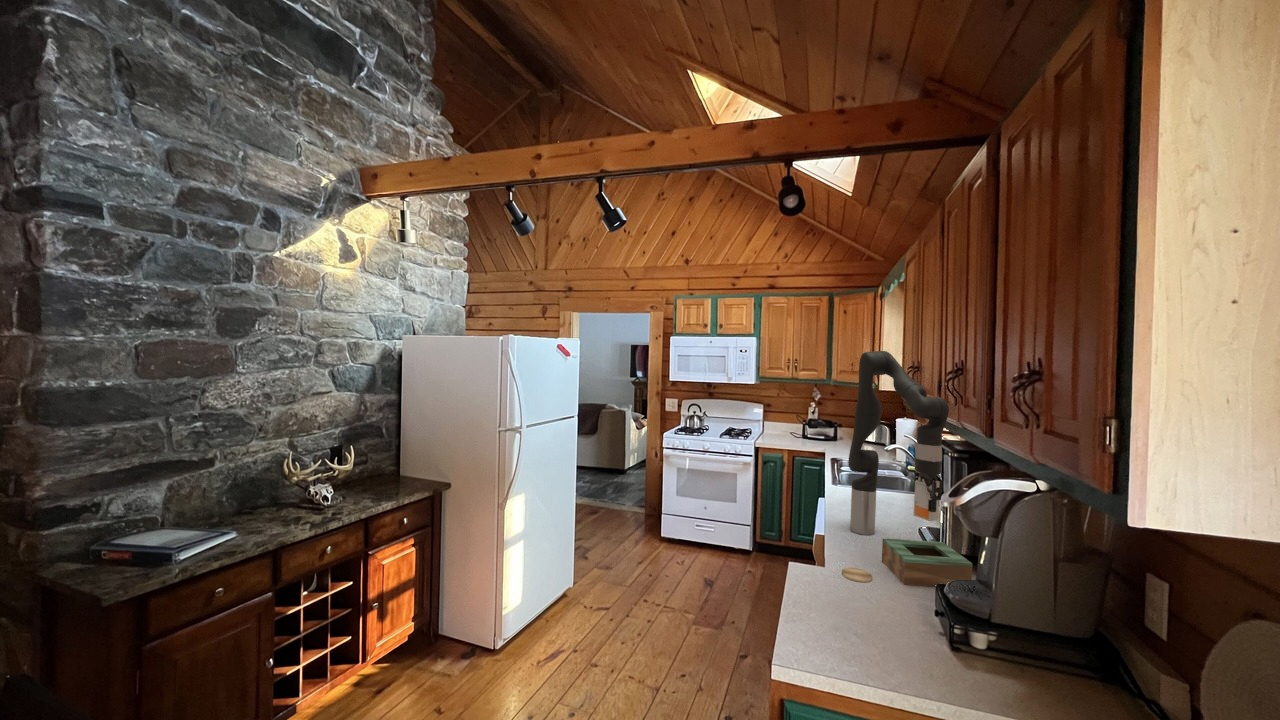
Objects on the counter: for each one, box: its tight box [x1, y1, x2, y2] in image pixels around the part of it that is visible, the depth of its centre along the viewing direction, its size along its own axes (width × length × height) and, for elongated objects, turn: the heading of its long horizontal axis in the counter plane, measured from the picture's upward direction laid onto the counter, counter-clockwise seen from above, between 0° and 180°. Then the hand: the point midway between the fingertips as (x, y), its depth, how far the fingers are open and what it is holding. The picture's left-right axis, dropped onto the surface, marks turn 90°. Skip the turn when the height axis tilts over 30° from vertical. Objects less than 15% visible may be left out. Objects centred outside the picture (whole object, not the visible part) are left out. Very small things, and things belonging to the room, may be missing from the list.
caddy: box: [881, 538, 973, 588], centre depth 167 cm, size 18×20×8 cm
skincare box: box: [913, 480, 940, 522], centre depth 167 cm, size 6×4×12 cm
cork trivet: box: [841, 567, 873, 583], centre depth 164 cm, size 9×9×1 cm
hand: (926, 507), depth 167 cm, fingers closed on skincare box, 7 cm apart
